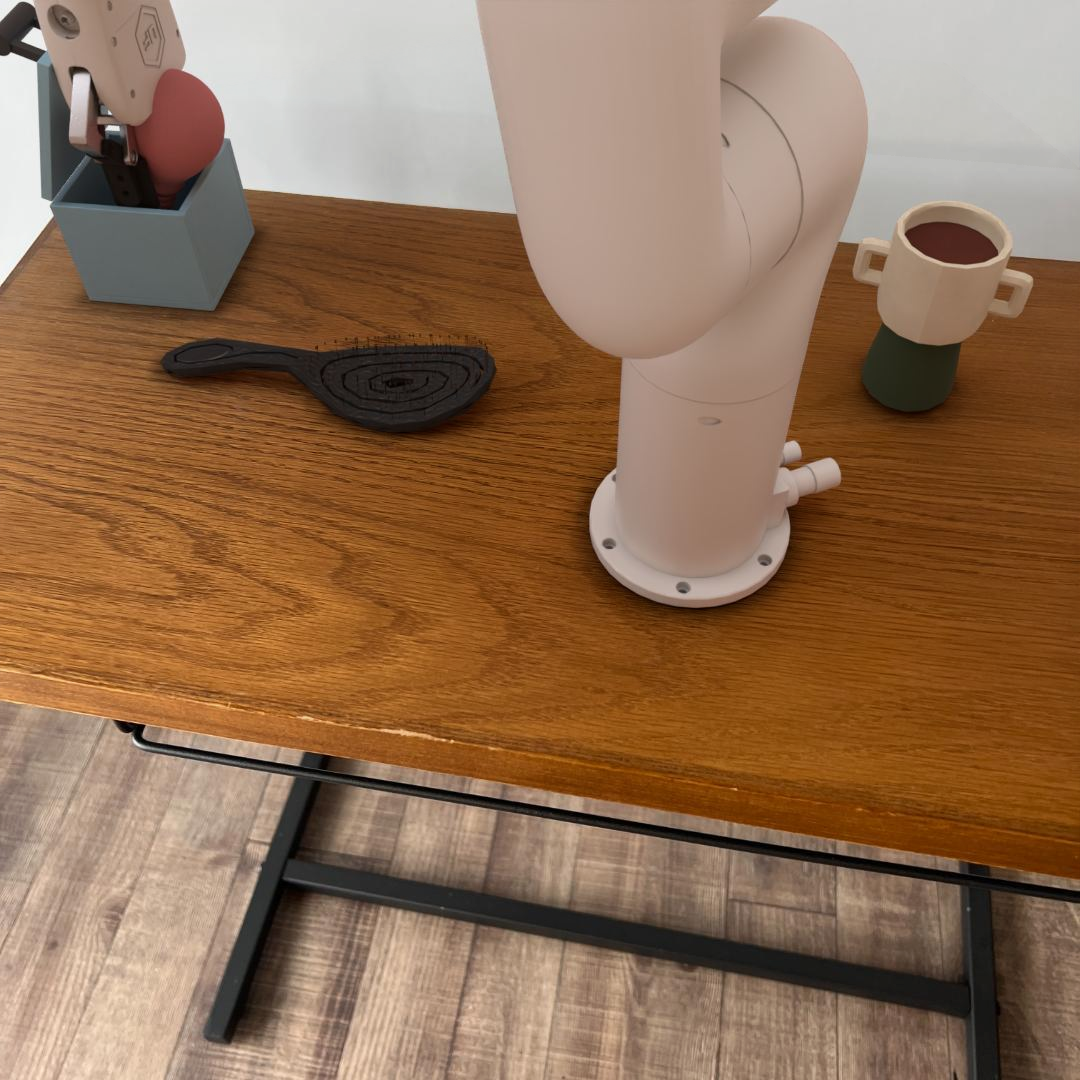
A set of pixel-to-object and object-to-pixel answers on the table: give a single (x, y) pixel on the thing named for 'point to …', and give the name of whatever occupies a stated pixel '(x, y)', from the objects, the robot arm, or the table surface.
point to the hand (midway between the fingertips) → (157, 176)
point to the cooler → (157, 236)
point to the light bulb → (179, 133)
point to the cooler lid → (44, 102)
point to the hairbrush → (359, 377)
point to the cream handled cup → (934, 297)
